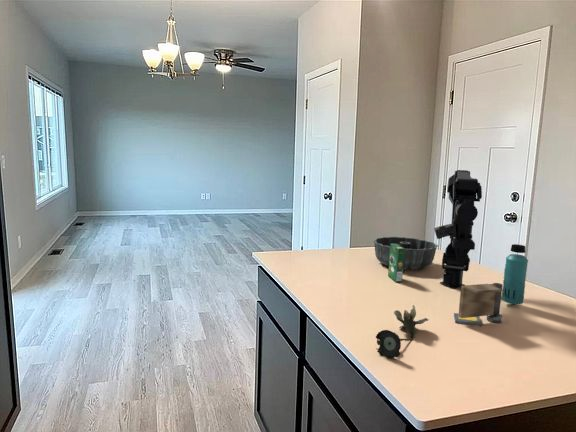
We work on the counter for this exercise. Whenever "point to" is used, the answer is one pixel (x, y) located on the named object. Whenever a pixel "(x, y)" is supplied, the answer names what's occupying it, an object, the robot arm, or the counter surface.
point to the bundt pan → (406, 251)
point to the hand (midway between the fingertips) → (459, 264)
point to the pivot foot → (494, 318)
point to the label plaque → (468, 320)
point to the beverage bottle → (515, 276)
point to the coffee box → (396, 262)
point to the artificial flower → (391, 340)
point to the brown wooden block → (480, 300)
